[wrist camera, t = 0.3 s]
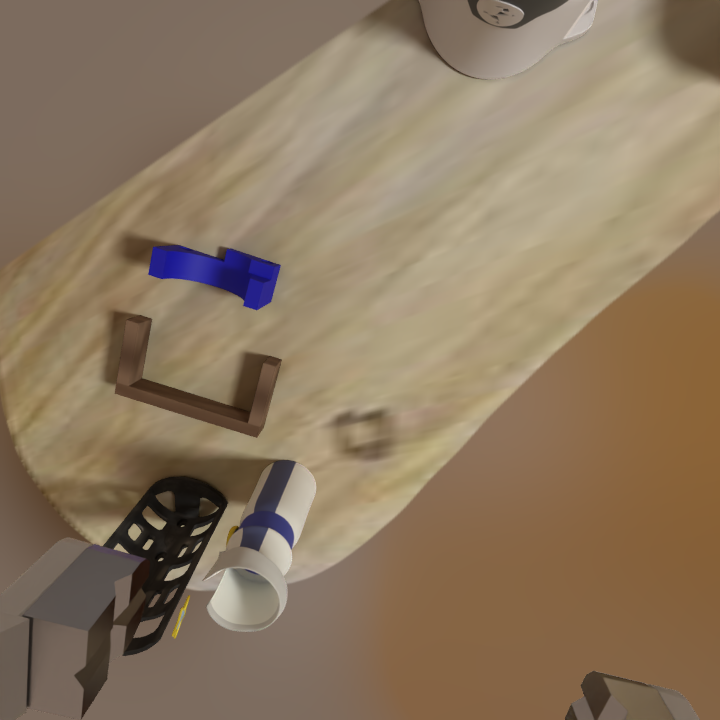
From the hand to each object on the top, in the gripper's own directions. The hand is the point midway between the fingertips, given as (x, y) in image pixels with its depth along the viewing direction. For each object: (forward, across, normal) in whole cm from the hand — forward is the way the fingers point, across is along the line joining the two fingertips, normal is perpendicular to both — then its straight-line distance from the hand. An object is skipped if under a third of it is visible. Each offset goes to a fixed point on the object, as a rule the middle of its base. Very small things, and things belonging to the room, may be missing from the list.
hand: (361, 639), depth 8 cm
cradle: (+46, +20, +14) cm, 52 cm away
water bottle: (+46, +7, +28) cm, 55 cm away
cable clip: (+47, +19, +2) cm, 50 cm away
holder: (+46, +19, +35) cm, 61 cm away
